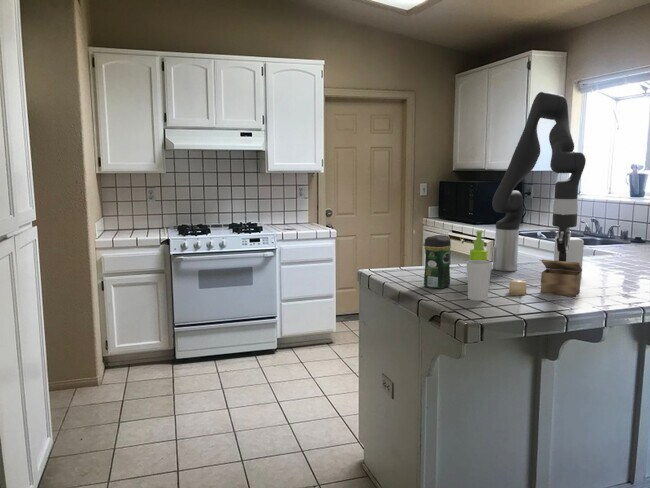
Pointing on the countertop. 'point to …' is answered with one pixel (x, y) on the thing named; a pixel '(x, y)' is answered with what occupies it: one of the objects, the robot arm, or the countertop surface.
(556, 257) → the supplement box
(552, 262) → the lid
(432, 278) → the coffee jar
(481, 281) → the cup
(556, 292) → the box
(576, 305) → the countertop surface
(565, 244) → the robot arm
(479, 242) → the soap dispenser
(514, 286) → the domed cream knob
